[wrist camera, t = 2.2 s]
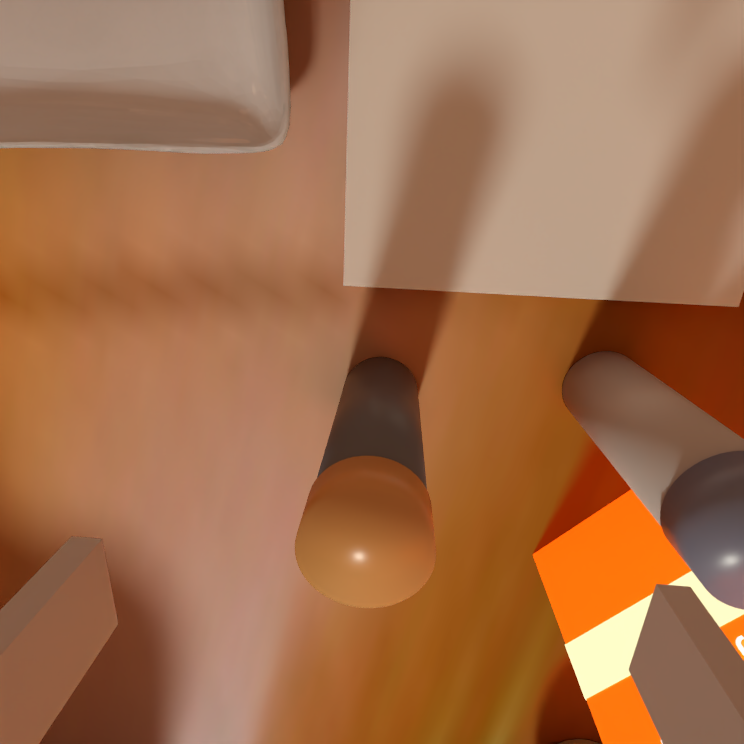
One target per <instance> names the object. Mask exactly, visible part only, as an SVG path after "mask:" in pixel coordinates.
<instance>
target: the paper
mask: <svg viewBox="0 0 744 744" xmlns="http://www.w3.org/2000/svg"><path fill="white" fill-rule="evenodd" d="M343 286H359V287H378V288H396V289H415V290H433V291H452V292H470V293H489V294H507V295H526V296H544V297H563V298H581V299H599V300H618V301H636V302H655V303H673V304H692V305H710V306H729V307H739V304H740V301H741V298H742V295H743V291H744V0H350V33H349V74H348V116H347V157H346V198H345V240H344V281H343Z"/></svg>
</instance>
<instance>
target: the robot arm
mask: <svg viewBox="0 0 744 744" xmlns="http://www.w3.org/2000/svg"><path fill="white" fill-rule="evenodd" d="M117 625H118V619H117V614H116V609H115V604H114V598H113V593H112V588H111V582H110V577H109V572H108V566H107V561H106V556H105V551H104V545H103V540H102V539H100V538H87V537H75V536H71V537H70V538H69V539H68V541H67V542H66V543H65V544H64V545H63V546H62V547H61V548H60V549H59V550H58V551H57V552H56V553H55V554H54V555H53V556H52V557H51V558H50V559H49V560H48V561H47V562H46V563H45V564H44V565H43V566H42V567H41V568H40V569H39V571H38V572H37V573H36V574H35V575H34V576H33V577H32V578H31V579H30V580H29V581H28V582H27V583H26V584H25V585H24V586H23V587H22V588H21V589H20V590H19V591H18V592H17V593H16V594H15V595H14V596H13V597H12V598H11V599H10V601H9V602H8V603H7V604H6V605H5V606H4V607H3V608H2V609H1V610H0V744H39V743H40V742H41V740H42V738H43V737H44V735H45V734H46V732H47V731H48V729H49V728H50V726H51V725H52V723H53V722H54V720H55V719H56V717H57V716H58V714H59V713H60V711H61V710H62V708H63V707H64V705H65V704H66V702H67V701H68V699H69V698H70V696H71V695H72V693H73V692H74V690H75V689H76V687H77V686H78V684H79V683H80V681H81V680H82V678H83V677H84V675H85V674H86V672H87V671H88V669H89V668H90V666H91V665H92V663H93V662H94V660H95V659H96V657H97V655H98V654H99V652H100V651H101V649H102V648H103V646H104V645H105V643H106V642H107V640H108V639H109V637H110V636H111V634H112V633H113V631H114V630H115V628H116V627H117ZM629 672H630V674H631V676H632V678H633V680H634V683H635V685H636V687H637V689H638V691H639V693H640V695H641V698H642V700H643V702H644V704H645V706H646V708H647V710H648V713H649V715H650V717H651V719H652V721H653V723H654V725H655V728H656V730H657V732H658V734H659V736H660V738H661V740H662V743H663V744H744V660H743V659H742V658H741V656H740V655H739V653H738V652H737V651H736V649H735V648H734V647H733V645H732V644H731V642H730V641H729V640H728V638H727V637H726V635H725V634H724V633H723V631H722V630H721V629H720V627H719V626H718V624H717V623H716V622H715V620H714V619H713V617H712V616H711V615H710V613H709V612H708V610H707V609H706V608H705V606H704V605H703V604H702V602H701V601H700V599H699V598H698V597H697V595H696V594H695V592H694V591H693V590H692V588H691V587H688V586H676V585H664V584H656V586H655V589H654V592H653V595H652V598H651V602H650V605H649V608H648V611H647V614H646V617H645V620H644V623H643V626H642V629H641V632H640V636H639V639H638V642H637V645H636V648H635V651H634V654H633V657H632V660H631V663H630V667H629Z"/></svg>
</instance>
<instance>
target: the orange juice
mask: <svg viewBox="0 0 744 744" xmlns="http://www.w3.org/2000/svg"><path fill="white" fill-rule="evenodd" d="M533 557H534V560H535V563H536V565H537V568H538V571H539V573H540V576H541V579H542V581H543V584H544V587H545V589H546V592H547V595H548V598H549V600H550V603H551V606H552V608H553V611H554V614H555V616H556V619H557V622H558V624H559V627H560V630H561V633H562V635H563V638H564V641H565V643H566V644H565V647H566V649H567V652H568V655H569V658H570V660H571V663H572V666H573V668H574V671H575V674H576V677H577V679H578V682H579V685H580V687H581V690H582V693H583V696H584V698H585V700H586V701H587V703H588V705H589V708H590V711H591V713H592V716H593V719H594V722H595V724H596V727H597V730H598V732H599V735H600V738H601V740H602V743H603V744H663V743H662V740H661V738H660V736H659V734H658V732H657V730H656V728H655V725H654V723H653V721H652V719H651V717H650V715H649V713H648V710H647V708H646V706H645V704H644V702H643V700H642V698H641V695H640V693H639V691H638V689H637V687H636V685H635V683H634V680H633V678H632V676H631V674H630V672H629V667H630V663H631V660H632V657H633V654H634V651H635V648H636V645H637V642H638V639H639V636H640V632H641V629H642V626H643V623H644V620H645V617H646V614H647V611H648V608H649V605H650V602H651V598H652V595H653V592H654V589H655V586H656V584H664V585H676V586H688V587H691V588H692V590H693V591H694V592H695V594H696V595H697V597H698V598H699V599H700V601H701V602H702V604H703V605H704V606H705V608H706V609H707V610H708V612H709V613H710V615H711V616H712V617H713V619H714V620H715V622H716V623H717V624H718V626H719V627H720V629H721V630H722V631H723V633H724V634H725V635H726V637H727V638H728V640H729V641H730V642H731V644H732V645H733V647H734V648H735V649H736V651H737V652H738V653H739V655H740V656H741V658H742V659H743V660H744V610H742V609H738V608H734V607H732V606H729V605H726V604H724V603H722V602H720V601H719V600H717V599H716V598H714V597H713V596H712V595H711V594H710V593H709V592H708V591H707V590H706V589H705V587H704V586H703V585H702V583H701V582H700V581H699V580H698V578H697V577H696V576H695V575H694V573H693V572H692V571H691V569H690V568H689V567H688V566H687V564H686V563H685V562H684V560H683V559H682V558H681V557H680V555H679V554H678V553H677V551H676V550H675V549H674V548H673V546H672V545H671V544H670V542H669V541H668V540H667V538H666V537H665V535H664V533H663V530H662V527H661V526H660V525H659V523H658V522H657V521H656V520H655V518H654V517H653V516H652V514H651V513H650V512H649V511H648V509H647V508H646V507H645V506H644V504H643V503H642V502H641V501H640V499H639V498H638V497H637V496H636V494H635V493H634V492H633V490H632V489H631V490H630V491H628V492H627V493H625V494H624V495H622V496H620V497H619V498H617V499H616V500H614V501H613V502H611V503H610V504H608V505H607V506H605V507H604V508H602V509H601V510H599V511H598V512H596V513H595V514H593V515H592V516H590V517H589V518H587V519H586V520H584V521H583V522H581V523H580V524H578V525H577V526H575V527H574V528H572V529H570V530H569V531H567V532H566V533H564V534H563V535H561V536H560V537H558V538H557V539H555V540H554V541H552V542H551V543H549V544H548V545H546V546H545V547H543V548H542V549H540V550H539V551H537V552H536V553H534V554H533Z"/></svg>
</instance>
